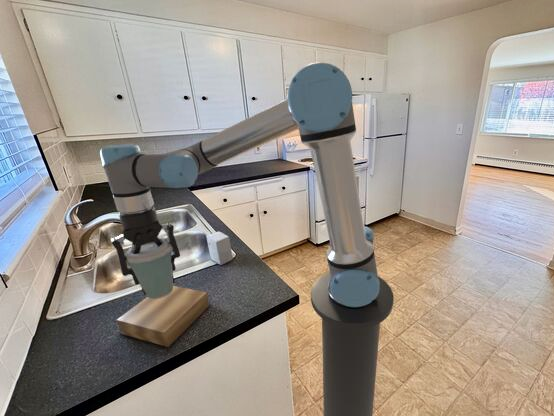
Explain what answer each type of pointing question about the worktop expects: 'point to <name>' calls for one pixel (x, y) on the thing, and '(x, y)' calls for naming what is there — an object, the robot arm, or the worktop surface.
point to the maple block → (164, 316)
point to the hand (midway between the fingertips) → (158, 286)
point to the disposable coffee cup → (153, 268)
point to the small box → (219, 247)
